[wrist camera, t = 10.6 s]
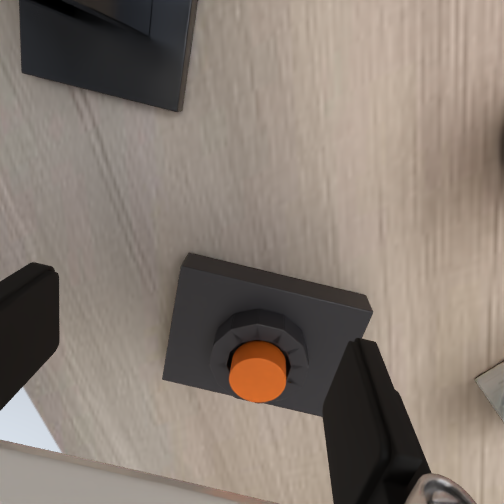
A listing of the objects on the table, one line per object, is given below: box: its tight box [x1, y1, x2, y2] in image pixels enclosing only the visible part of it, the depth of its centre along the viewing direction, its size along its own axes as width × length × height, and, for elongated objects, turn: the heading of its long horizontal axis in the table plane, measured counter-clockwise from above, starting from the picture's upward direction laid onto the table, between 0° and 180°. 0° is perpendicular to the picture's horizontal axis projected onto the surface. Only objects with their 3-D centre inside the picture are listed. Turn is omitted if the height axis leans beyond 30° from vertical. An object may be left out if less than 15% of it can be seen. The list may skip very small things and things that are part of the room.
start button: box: [229, 341, 286, 402], centre depth 23 cm, size 4×4×2 cm
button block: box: [162, 253, 373, 417], centre depth 25 cm, size 13×10×4 cm
